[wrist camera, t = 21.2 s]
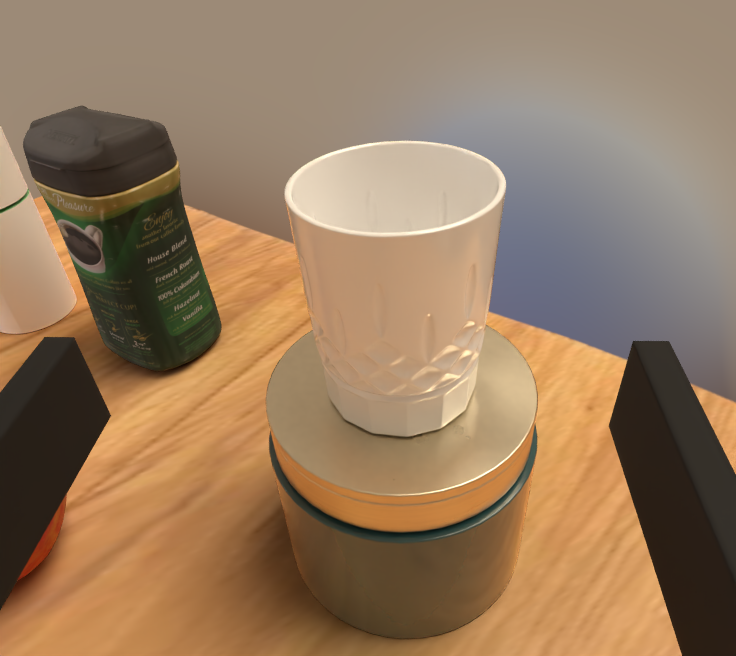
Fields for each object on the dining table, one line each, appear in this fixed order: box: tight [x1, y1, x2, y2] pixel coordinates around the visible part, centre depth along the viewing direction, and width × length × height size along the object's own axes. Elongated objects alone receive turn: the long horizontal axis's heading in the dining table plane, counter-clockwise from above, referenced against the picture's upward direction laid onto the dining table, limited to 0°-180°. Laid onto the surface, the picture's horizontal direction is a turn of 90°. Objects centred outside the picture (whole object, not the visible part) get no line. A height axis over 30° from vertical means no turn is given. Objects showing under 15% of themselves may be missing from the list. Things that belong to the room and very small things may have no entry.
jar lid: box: [266, 325, 538, 533], centre depth 28 cm, size 12×12×2 cm
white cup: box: [284, 141, 506, 437], centre depth 24 cm, size 8×8×10 cm
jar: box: [269, 425, 537, 639], centre depth 31 cm, size 13×13×10 cm
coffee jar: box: [23, 106, 221, 371], centre depth 44 cm, size 10×8×19 cm
